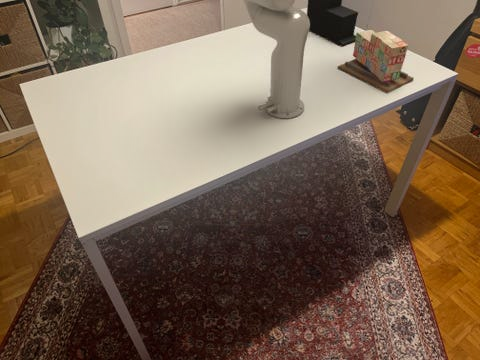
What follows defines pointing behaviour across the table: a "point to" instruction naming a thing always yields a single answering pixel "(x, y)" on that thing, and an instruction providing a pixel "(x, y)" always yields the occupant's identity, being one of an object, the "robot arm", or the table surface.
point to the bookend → (332, 21)
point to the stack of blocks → (380, 53)
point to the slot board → (373, 76)
